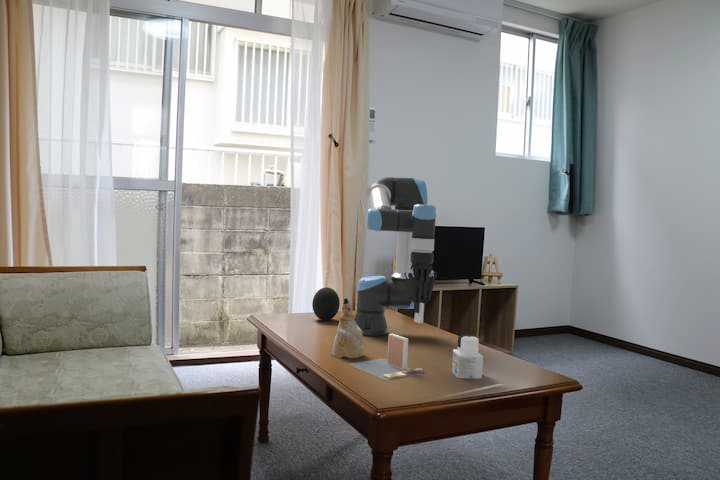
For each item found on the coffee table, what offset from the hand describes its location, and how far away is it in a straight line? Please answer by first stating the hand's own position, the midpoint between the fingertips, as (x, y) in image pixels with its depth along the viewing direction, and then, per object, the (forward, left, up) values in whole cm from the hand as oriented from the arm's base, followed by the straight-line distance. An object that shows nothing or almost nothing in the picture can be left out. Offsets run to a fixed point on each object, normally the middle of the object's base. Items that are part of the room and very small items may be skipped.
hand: (418, 322), depth 187 cm
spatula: (+13, +8, -14) cm, 20 cm away
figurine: (+14, -20, -15) cm, 29 cm away
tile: (+8, 0, -14) cm, 16 cm away
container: (-6, +17, -15) cm, 23 cm away
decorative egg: (-12, -75, -15) cm, 78 cm away
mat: (+13, 0, -15) cm, 20 cm away
